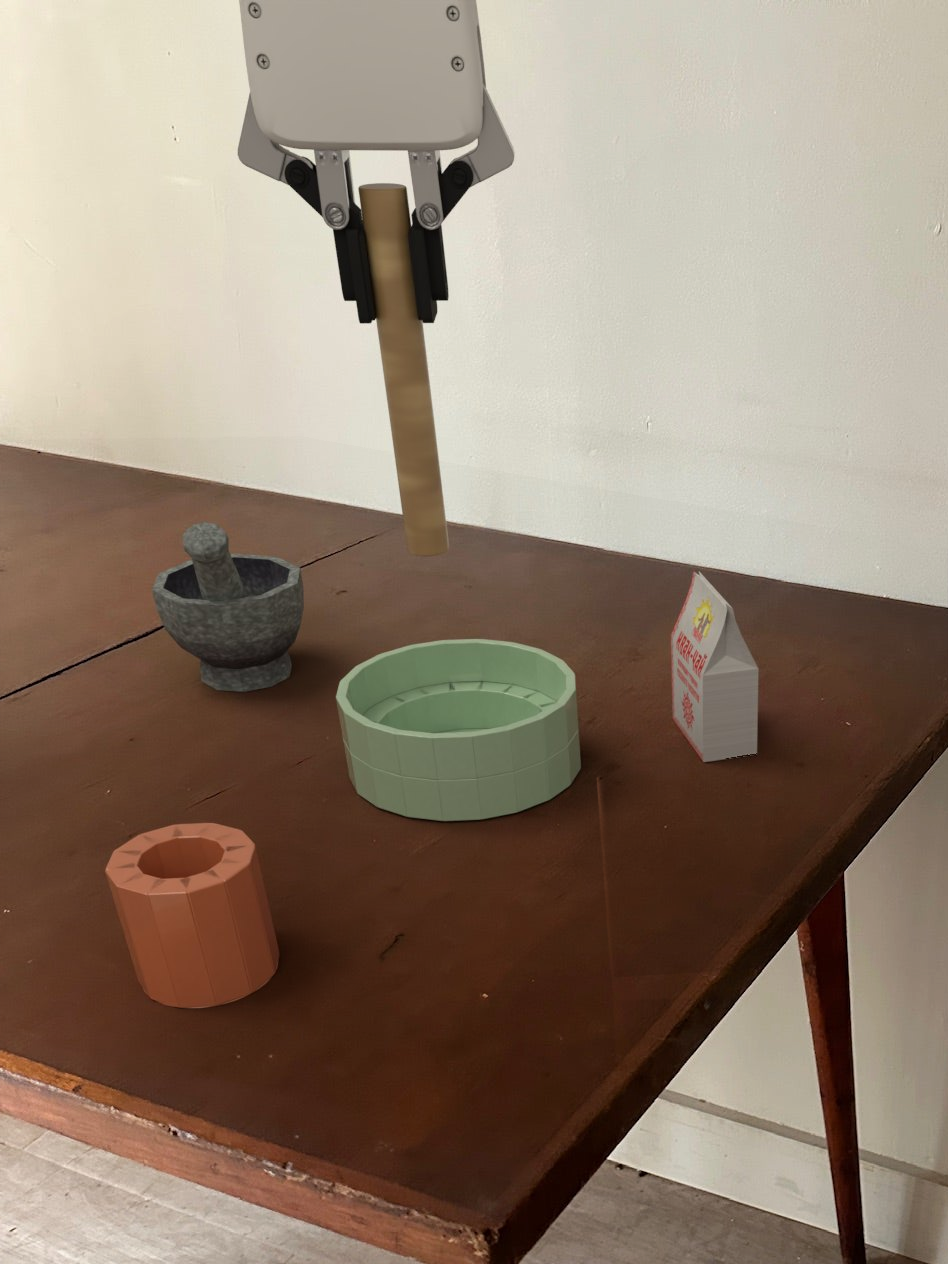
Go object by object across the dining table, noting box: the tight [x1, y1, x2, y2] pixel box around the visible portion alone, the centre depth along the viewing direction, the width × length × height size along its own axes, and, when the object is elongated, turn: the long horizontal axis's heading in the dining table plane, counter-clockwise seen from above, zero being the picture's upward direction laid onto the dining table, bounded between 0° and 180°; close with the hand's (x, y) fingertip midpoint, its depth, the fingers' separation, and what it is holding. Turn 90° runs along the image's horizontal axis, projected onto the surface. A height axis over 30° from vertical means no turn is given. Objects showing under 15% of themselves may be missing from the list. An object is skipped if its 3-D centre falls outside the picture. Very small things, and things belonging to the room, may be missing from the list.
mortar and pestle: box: [151, 521, 305, 693], centre depth 97 cm, size 11×9×12 cm
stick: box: [357, 182, 450, 557], centre depth 72 cm, size 2×2×17 cm
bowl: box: [335, 638, 582, 822], centre depth 88 cm, size 14×14×6 cm
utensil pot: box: [104, 822, 281, 1009], centre depth 70 cm, size 7×7×7 cm
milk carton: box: [670, 570, 759, 763], centre depth 92 cm, size 4×7×10 cm, turn 20°
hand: (398, 314), depth 70 cm, fingers closed on stick, 2 cm apart
